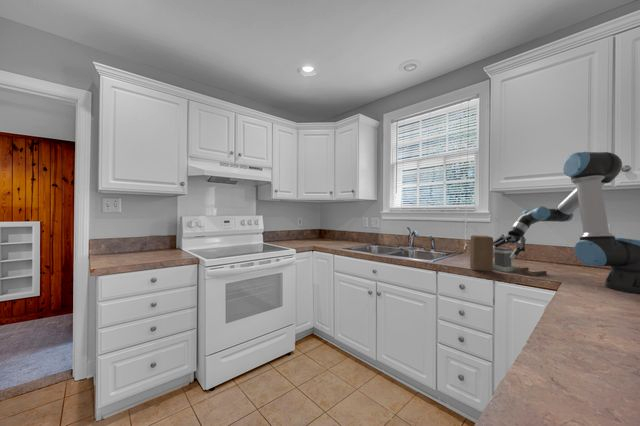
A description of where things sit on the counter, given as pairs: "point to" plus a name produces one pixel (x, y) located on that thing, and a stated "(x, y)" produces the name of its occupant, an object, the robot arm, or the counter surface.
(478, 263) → the wooden block
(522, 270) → the cradle
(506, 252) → the caddy
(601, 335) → the counter surface
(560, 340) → the counter surface
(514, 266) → the tray
